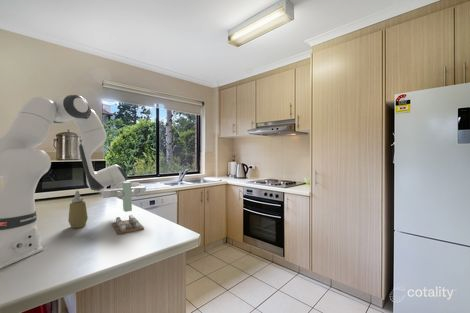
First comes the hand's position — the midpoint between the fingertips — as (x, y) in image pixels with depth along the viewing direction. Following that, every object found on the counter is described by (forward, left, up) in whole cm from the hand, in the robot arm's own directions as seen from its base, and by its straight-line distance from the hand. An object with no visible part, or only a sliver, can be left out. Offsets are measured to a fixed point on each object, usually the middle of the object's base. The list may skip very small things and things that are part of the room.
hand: (127, 193), depth 107 cm
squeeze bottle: (+4, +27, -17) cm, 32 cm away
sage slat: (+1, +1, -8) cm, 8 cm away
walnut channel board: (+1, +1, -17) cm, 17 cm away
